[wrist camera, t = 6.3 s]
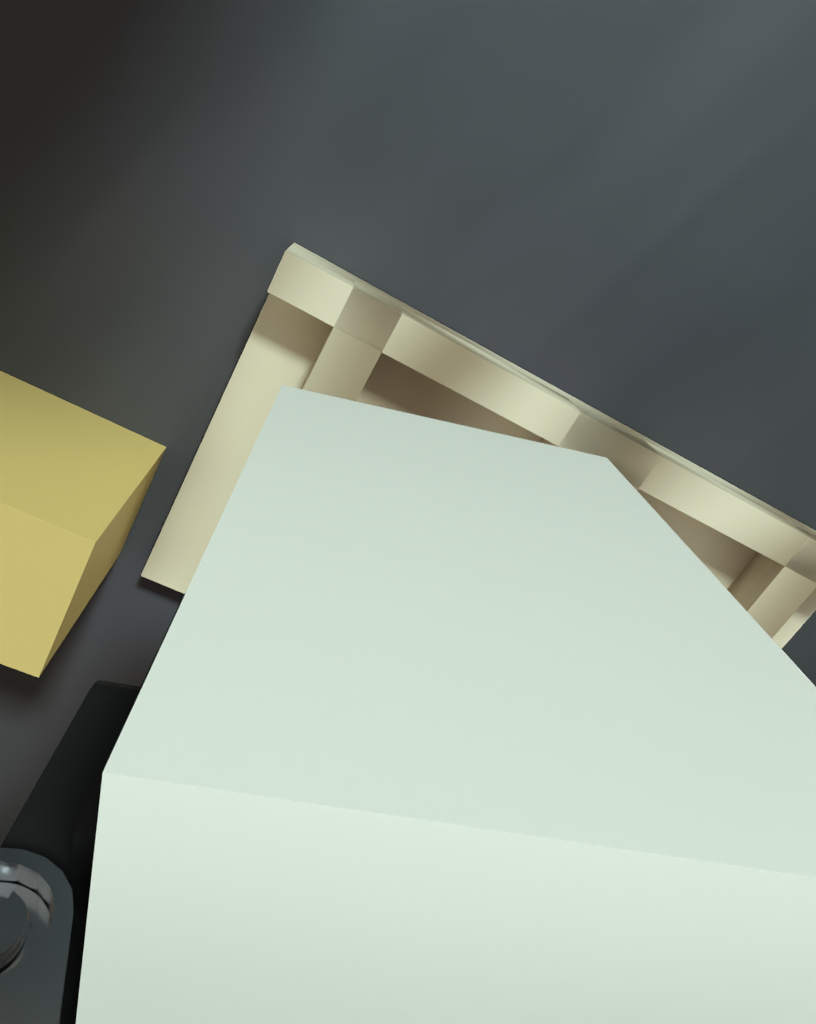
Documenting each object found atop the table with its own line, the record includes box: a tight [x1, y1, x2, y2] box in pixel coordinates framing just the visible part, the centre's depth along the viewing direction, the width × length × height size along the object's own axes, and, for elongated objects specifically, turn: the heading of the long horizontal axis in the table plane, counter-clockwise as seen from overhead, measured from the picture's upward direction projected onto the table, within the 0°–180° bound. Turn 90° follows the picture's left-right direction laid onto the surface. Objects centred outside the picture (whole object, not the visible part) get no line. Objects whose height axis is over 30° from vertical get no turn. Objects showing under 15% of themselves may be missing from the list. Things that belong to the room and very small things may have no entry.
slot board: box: [141, 243, 816, 649], centre depth 25 cm, size 22×12×2 cm, turn 62°
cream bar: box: [76, 385, 816, 1024], centre depth 8 cm, size 8×4×7 cm, turn 166°
